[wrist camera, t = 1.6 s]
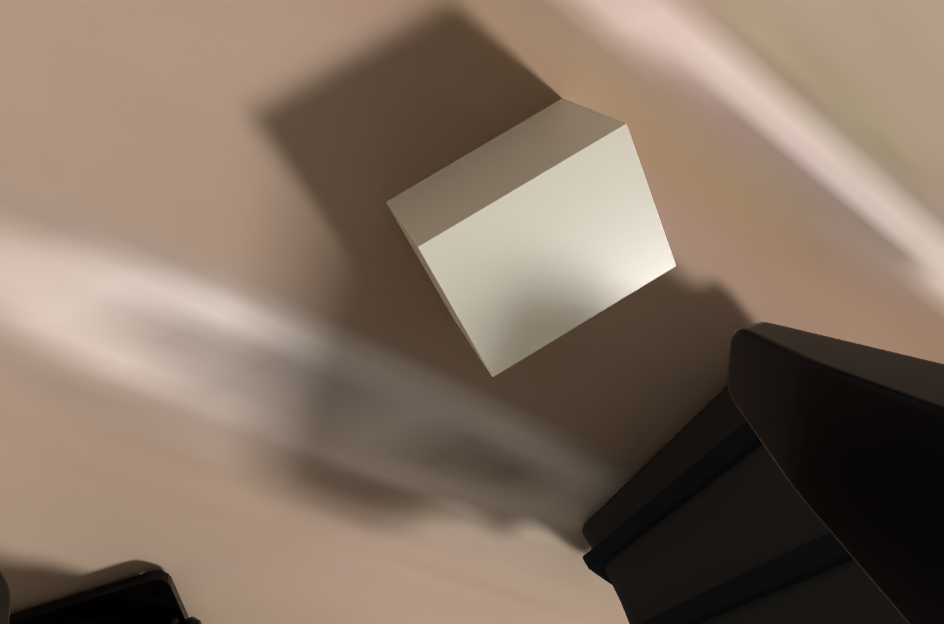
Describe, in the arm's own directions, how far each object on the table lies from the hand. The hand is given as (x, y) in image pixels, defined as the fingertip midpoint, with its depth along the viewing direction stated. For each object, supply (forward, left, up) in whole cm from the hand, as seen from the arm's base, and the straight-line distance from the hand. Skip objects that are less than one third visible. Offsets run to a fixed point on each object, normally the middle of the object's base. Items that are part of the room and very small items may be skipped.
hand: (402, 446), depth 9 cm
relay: (+6, -3, -13) cm, 15 cm away
